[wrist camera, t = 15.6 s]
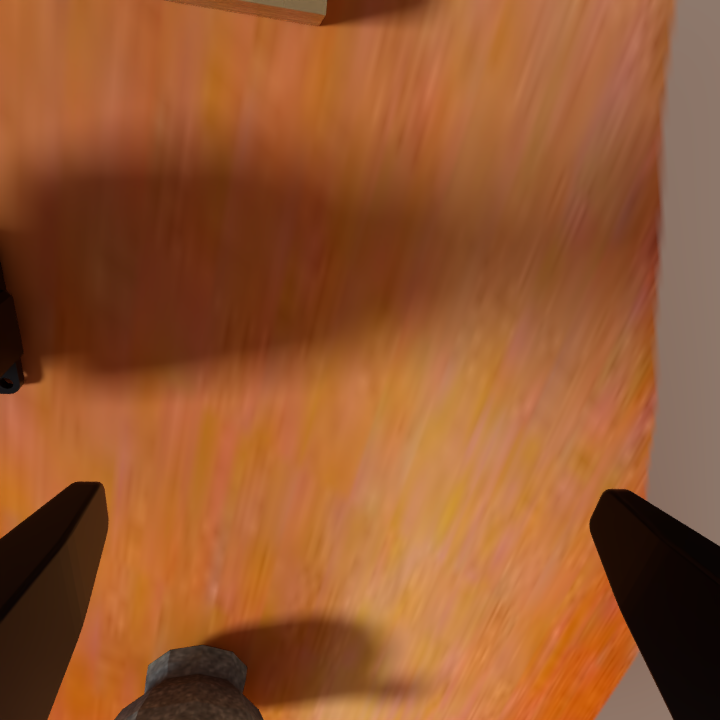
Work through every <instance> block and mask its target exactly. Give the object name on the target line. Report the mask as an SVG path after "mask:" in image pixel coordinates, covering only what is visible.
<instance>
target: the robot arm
mask: <svg viewBox="0 0 720 720" xmlns="http://www.w3.org/2000/svg"><path fill="white" fill-rule="evenodd" d="M22 354H23V347H22V342H21V337H20V332H19V327H18V321H17V316H16V311H15V306H14V301H13V297H12V295H11V294H10V293H9V292H8V291H7V290H6V287H5V282H4V277H3V272H2V267H1V262H0V394H12V393H15V392H17V391H18V390H19V389H20V388H21V386H22V385H23V384H24V375H23V370H22V365H21V360H20V356H21V355H22ZM4 378H8V379H10V380H11V381H12V382H13V384H11V383H8V382H6V381H5V379H4ZM589 525H590V532H591V535H592V538H593V541H594V543H595V546H596V549H597V551H598V554H599V556H600V559H601V562H602V564H603V567H604V570H605V572H606V575H607V578H608V580H609V583H610V586H611V588H612V591H613V593H614V596H615V599H616V601H617V603H618V606H619V608H620V611H621V613H622V615H623V617H624V619H625V621H626V624H627V626H628V628H629V630H630V632H631V634H632V636H633V638H634V640H635V642H636V644H637V646H638V648H639V650H640V652H641V654H642V656H643V658H644V660H645V662H646V665H647V667H648V668H649V671H650V673H651V675H652V677H653V679H654V681H655V683H656V685H657V687H658V689H659V691H660V693H661V695H662V697H663V699H664V701H665V703H666V705H667V708H668V710H669V712H670V714H671V716H672V718H673V720H720V546H718V545H717V544H715V543H713V542H712V541H710V540H709V539H707V538H705V537H704V536H702V535H701V534H699V533H697V532H696V531H694V530H693V529H691V528H689V527H688V526H686V525H685V524H683V523H681V522H680V521H678V520H676V519H675V518H673V517H672V516H670V515H668V514H667V513H665V512H664V511H662V510H660V509H659V508H657V507H655V506H654V505H652V504H650V503H649V502H647V501H646V500H644V499H643V498H641V497H639V496H638V495H636V494H635V493H633V492H631V491H629V490H626V489H608V490H606V491H604V492H603V493H602V495H601V497H600V499H599V501H598V504H597V506H596V508H595V510H594V512H593V514H592V516H591V519H590V523H589ZM107 531H108V512H107V504H106V497H105V489H104V486H103V484H102V483H100V482H75V483H72V484H71V485H69V486H68V487H67V488H65V489H64V490H63V491H62V492H60V493H59V494H58V495H56V496H55V497H54V498H53V499H51V500H50V501H49V502H47V503H46V504H45V505H43V506H42V507H41V508H40V509H38V510H37V511H36V512H34V513H33V514H32V515H31V516H29V517H28V518H27V519H25V520H24V521H23V522H22V523H20V524H19V525H18V526H16V527H15V528H14V529H13V530H11V531H10V532H9V533H7V534H6V535H5V536H3V537H2V538H1V539H0V720H47V719H48V716H49V714H50V711H51V709H52V706H53V703H54V701H55V698H56V696H57V693H58V690H59V688H60V685H61V683H62V680H63V677H64V675H65V672H66V670H67V667H68V664H69V662H70V659H71V656H72V654H73V651H74V649H75V646H76V643H77V641H78V638H79V635H80V632H81V629H82V627H83V623H84V620H85V616H86V613H87V609H88V605H89V601H90V597H91V594H92V590H93V586H94V582H95V578H96V574H97V570H98V567H99V563H100V559H101V555H102V551H103V547H104V543H105V540H106V536H107Z"/></svg>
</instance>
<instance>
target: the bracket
mask: <svg viewBox="0 0 720 720" xmlns="http://www.w3.org/2000/svg"><path fill="white" fill-rule="evenodd" d="M166 1H171V2H177V3H183V4H189V5H195V6H201V7H207V8H213V9H219V10H225V11H230V12H236V13H242V14H248V15H254V16H260V17H266V18H272V19H278V20H284V21H289V22H295V23H301V24H307V25H313V26H319V25H320V23H321V22H322V20H323V19H324V17H325V16H326V7H327V0H166Z"/></svg>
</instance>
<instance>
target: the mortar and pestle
mask: <svg viewBox="0 0 720 720" xmlns="http://www.w3.org/2000/svg"><path fill="white" fill-rule="evenodd" d="M246 673H247V666H246V665H245V664H244V663H243V662H242V661H241V660H240V659H239V658H238V657H237V656H236V655H235V654H234V653H233V652H231V651H227V650H223V649H218V648H214V647H210V646H205V645H199V646H193V647H186V648H180V649H174V650H170V651H168V652H167V653H165V654H164V655H162V656H161V657H159V658H158V659H157V660H155V661H154V662H152V663H151V664H149V665H148V671H147V676H146V684H145V694H144V695H142V696H141V697H139V698H138V699H137V700H135V701H134V702H132V703H131V704H130V705H128V706H127V707H125V708H124V709H122V711H121V712H120V713H119V714H118V716H117V717H116V718H115V719H114V720H263V718H262V715H261V713H260V711H259V709H258V708H256V707H255V706H254V705H253V704H252V703H251V702H250V701H249V700H248V699H247V698H246V697H245V696H244V695H243V694H242V693H243V689H244V685H245V681H246Z"/></svg>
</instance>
